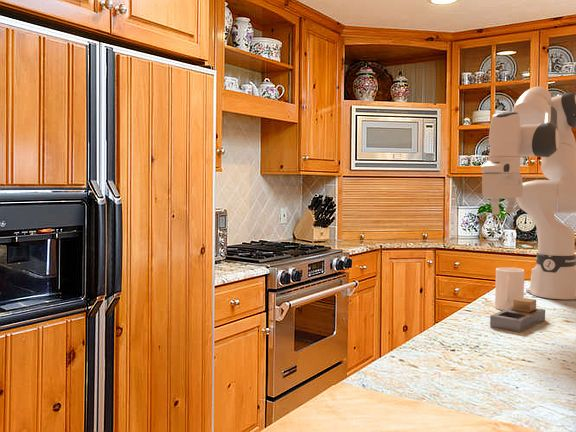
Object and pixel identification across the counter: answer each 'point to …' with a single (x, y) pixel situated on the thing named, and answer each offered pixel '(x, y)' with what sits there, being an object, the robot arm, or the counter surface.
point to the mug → (508, 286)
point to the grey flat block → (516, 319)
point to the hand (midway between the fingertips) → (503, 213)
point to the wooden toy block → (524, 305)
